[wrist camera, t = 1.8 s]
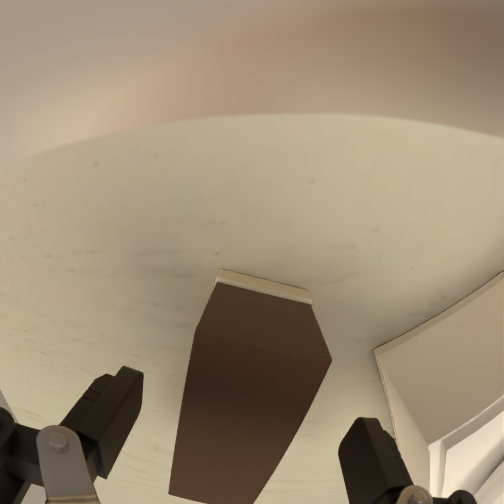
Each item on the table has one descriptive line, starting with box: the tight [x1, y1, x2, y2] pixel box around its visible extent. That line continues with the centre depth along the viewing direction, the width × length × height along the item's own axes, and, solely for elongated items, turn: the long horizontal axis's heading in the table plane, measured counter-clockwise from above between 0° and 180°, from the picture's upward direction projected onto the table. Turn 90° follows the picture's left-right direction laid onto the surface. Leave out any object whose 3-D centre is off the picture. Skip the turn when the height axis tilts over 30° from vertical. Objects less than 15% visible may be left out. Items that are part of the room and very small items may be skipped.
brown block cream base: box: [168, 269, 332, 504], centre depth 13 cm, size 12×5×6 cm, turn 166°
